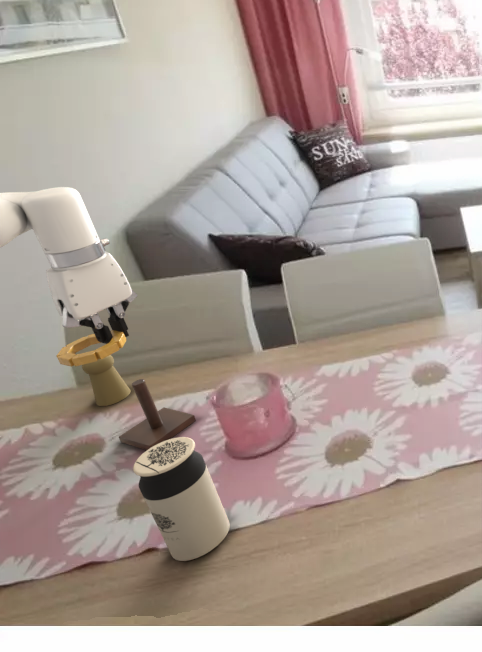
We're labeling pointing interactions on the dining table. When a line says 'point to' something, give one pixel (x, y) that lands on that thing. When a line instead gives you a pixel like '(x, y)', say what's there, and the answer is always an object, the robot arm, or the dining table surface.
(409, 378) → the dining table surface
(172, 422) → the peg stand
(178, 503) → the travel mug
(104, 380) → the cork
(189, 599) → the dining table surface
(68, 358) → the brass ring
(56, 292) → the robot arm
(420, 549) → the dining table surface
